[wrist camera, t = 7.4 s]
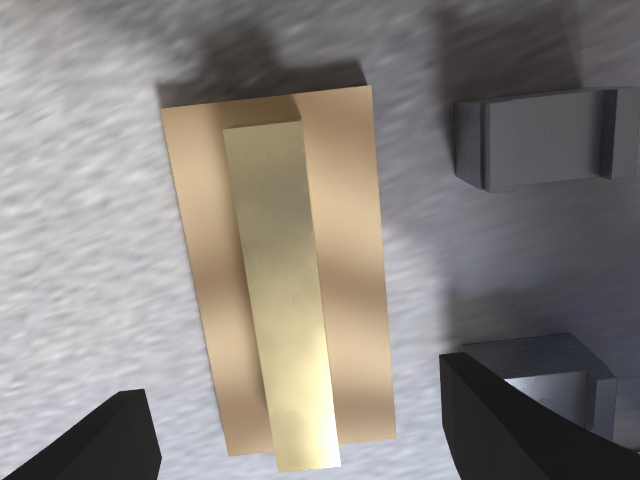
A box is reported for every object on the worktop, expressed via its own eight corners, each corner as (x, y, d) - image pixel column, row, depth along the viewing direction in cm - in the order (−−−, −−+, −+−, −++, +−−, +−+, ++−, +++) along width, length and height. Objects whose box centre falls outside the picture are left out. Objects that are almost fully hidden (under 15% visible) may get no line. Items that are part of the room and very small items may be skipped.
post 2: (567, 388, 23) (614, 441, 20) (461, 399, 23) (488, 454, 20) (570, 333, 22) (619, 377, 19) (460, 345, 22) (488, 392, 19)
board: (393, 424, 24) (396, 438, 23) (231, 441, 24) (228, 456, 23) (367, 85, 19) (371, 84, 18) (167, 108, 19) (160, 108, 18)
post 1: (579, 162, 20) (637, 176, 17) (455, 176, 20) (487, 193, 17) (583, 87, 19) (645, 86, 16) (453, 102, 19) (486, 103, 16)
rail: (336, 424, 22) (340, 466, 20) (281, 430, 22) (278, 472, 20) (301, 117, 18) (300, 120, 16) (234, 124, 18) (222, 129, 16)
